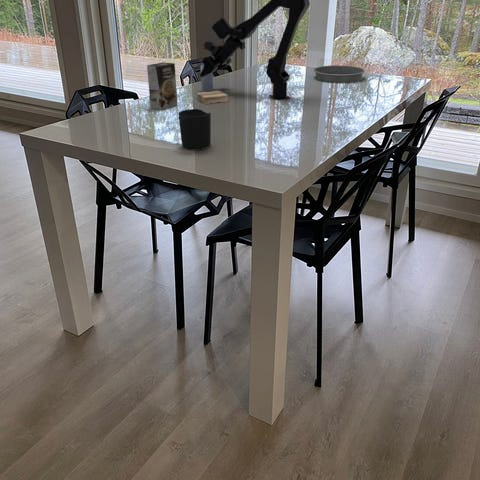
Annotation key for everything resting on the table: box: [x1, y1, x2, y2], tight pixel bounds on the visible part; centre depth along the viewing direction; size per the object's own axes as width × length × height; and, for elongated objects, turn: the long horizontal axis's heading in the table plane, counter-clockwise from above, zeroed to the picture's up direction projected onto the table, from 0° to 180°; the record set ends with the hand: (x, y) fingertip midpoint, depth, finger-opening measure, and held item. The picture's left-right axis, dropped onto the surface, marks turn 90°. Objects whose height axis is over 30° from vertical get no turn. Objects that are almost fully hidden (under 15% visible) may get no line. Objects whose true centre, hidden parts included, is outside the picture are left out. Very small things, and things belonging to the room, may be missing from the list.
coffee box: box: [146, 61, 178, 111], centre depth 186 cm, size 9×6×16 cm
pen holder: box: [178, 108, 212, 150], centre depth 145 cm, size 9×9×10 cm
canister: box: [200, 64, 214, 92], centre depth 210 cm, size 5×5×11 cm
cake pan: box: [313, 64, 366, 84], centre depth 235 cm, size 25×25×4 cm
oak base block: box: [196, 90, 229, 105], centre depth 198 cm, size 10×10×2 cm
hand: (205, 74), depth 209 cm, fingers open, 9 cm apart
